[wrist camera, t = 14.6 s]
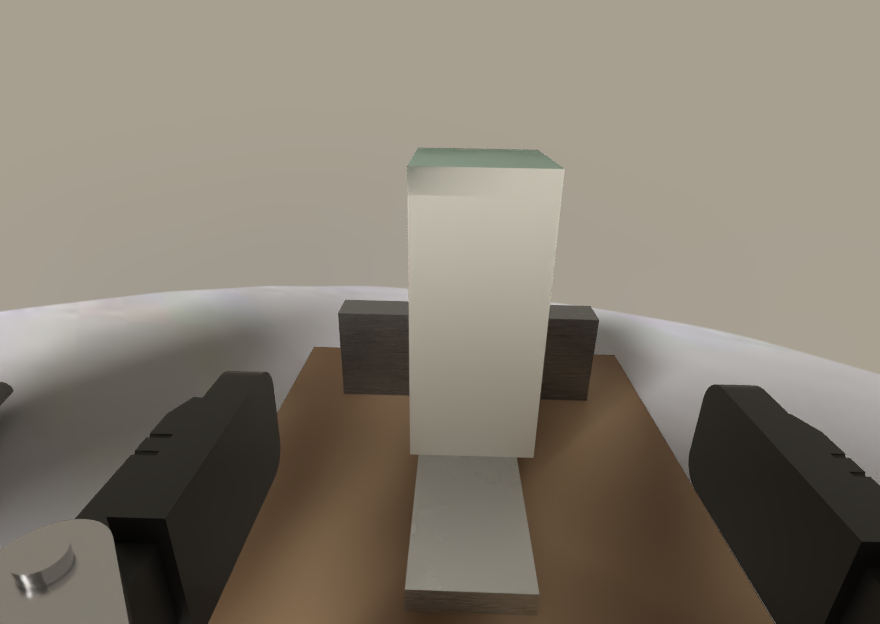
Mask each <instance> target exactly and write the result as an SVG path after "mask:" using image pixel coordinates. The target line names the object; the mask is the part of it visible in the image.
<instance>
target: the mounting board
mask: <svg viewBox="0 0 880 624" xmlns="http://www.w3.org/2000/svg"><path fill="white" fill-rule="evenodd" d="M277 419H278V427H279V435H280V445H281V450H280V461H279V466H278V470H277V473H276V476H275V478H274V481H273V483H272V485H271V487H270V489H269V492H268V494H267V496H266V498H265V500H264V502H263V505H262V507H261V509H260V511H259V513H258V516H257V518H256V520H255V522H254V524H253V526H252V529H251V531H250V533H249V535H248V537H247V540H246V542H245V544H244V546H243V548H242V551H241V553H240V555H239V557H238V559H237V561H236V564H235V566H234V568H233V570H232V572H231V575H230V577H229V579H228V581H227V583H226V586H225V588H224V590H223V592H222V594H221V596H220V599H219V601H218V603H217V605H216V607H215V610H214V612H213V614H212V616H211V618H210V620H209V623H208V624H774V622H773V620H772V619H771V617H770V615H769V614H768V612H767V610H766V608H765V607H764V605H763V603H762V602H761V600H760V598H759V597H758V595H757V593H756V592H755V590H754V588H753V587H752V585H751V583H750V582H749V580H748V578H747V577H746V575H745V573H744V572H743V570H742V568H741V567H740V565H739V563H738V562H737V560H736V558H735V557H734V555H733V553H732V551H731V550H730V548H729V546H728V545H727V543H726V541H725V540H724V538H723V536H722V535H721V533H720V531H719V530H718V528H717V526H716V525H715V523H714V521H713V520H712V518H711V516H710V515H709V513H708V511H707V510H706V508H705V506H704V505H703V503H702V501H701V500H700V498H699V496H698V494H697V493H696V491H695V489H694V488H693V486H692V484H691V483H690V481H689V479H688V478H687V476H686V474H685V473H684V471H683V469H682V468H681V466H680V464H679V463H678V461H677V459H676V458H675V456H674V454H673V453H672V451H671V449H670V448H669V446H668V444H667V443H666V441H665V439H664V437H663V436H662V434H661V432H660V431H659V429H658V427H657V426H656V424H655V422H654V421H653V419H652V417H651V416H650V414H649V412H648V411H647V409H646V407H645V406H644V404H643V402H642V401H641V399H640V397H639V396H638V394H637V392H636V391H635V389H634V387H633V386H632V384H631V382H630V380H629V379H628V377H627V375H626V374H625V372H624V370H623V369H622V367H621V365H620V364H619V362H618V360H617V359H616V357H615V355H594V356H593V363H592V369H591V376H590V382H589V389H588V396H587V401H575V400H541V399H540V402H539V412H538V421H537V430H536V439H535V449H534V458H523V457H517V462H518V468H519V474H520V480H521V486H522V492H523V498H524V504H525V510H526V516H527V522H528V528H529V534H530V540H531V546H532V552H533V558H534V564H535V571H536V577H537V583H538V589H539V602H538V609H537V616H535V615H508V614H481V613H455V612H428V611H405V582H406V573H407V563H408V553H409V543H410V534H411V524H412V514H413V505H414V495H415V485H416V475H417V466H418V456H419V455H414V454H410V396H402V395H367V394H344V390H343V375H342V360H341V348H329V347H314V348H313V350H312V352H311V354H310V355H309V357H308V359H307V361H306V363H305V365H304V366H303V368H302V370H301V372H300V374H299V375H298V377H297V379H296V381H295V383H294V384H293V386H292V388H291V390H290V392H289V394H288V395H287V397H286V399H285V401H284V403H283V404H282V406H281V408H280V410H279V412H278V413H277Z"/></svg>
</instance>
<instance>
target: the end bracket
mask: <svg viewBox="0 0 880 624" xmlns="http://www.w3.org/2000/svg"><path fill="white" fill-rule="evenodd" d="M338 316H339V331H340V346H341V360H342V375H343V390H344V394H367V395H402V396H410V394H409V302H405V301H365V300H345V301H344V303H343V305H342V307H341V309H340V311H339V313H338ZM598 323H599V319H598V318H597V316H596V314H595V313H594V311H593V310H592V308H591V306H564V305H550V310H549V319H548V328H547V338H546V347H545V356H544V365H543V375H542V384H541V393H540V399H541V400H575V401H587V396H588V389H589V382H590V376H591V369H592V363H593V356H594V349H595V343H596V336H597V329H598Z"/></svg>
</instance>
